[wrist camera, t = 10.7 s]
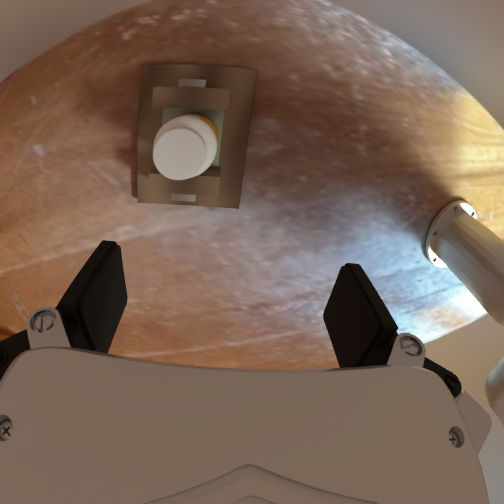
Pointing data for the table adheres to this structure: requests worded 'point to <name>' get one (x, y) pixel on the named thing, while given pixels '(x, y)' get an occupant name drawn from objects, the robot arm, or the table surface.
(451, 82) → the table surface
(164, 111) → the holder
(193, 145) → the supplement bottle
